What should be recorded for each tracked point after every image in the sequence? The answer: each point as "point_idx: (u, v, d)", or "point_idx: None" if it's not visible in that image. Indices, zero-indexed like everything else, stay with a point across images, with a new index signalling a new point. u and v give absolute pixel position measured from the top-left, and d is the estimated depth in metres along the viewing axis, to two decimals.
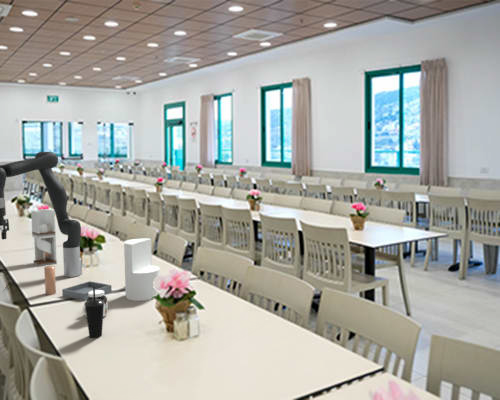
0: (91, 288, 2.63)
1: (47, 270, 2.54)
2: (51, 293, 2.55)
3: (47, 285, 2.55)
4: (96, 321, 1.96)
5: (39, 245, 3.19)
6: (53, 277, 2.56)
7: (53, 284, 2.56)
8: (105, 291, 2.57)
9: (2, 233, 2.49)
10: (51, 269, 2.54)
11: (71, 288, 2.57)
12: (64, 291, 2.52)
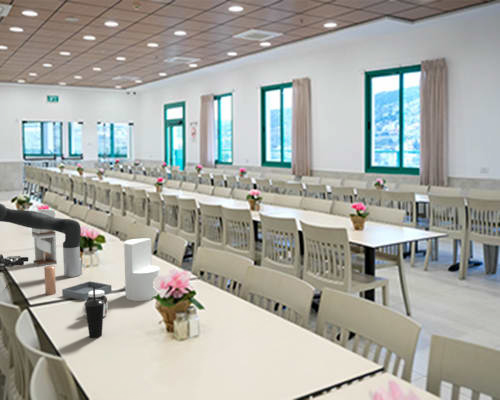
0: (91, 288, 2.63)
1: (47, 270, 2.54)
2: (51, 293, 2.55)
3: (47, 285, 2.55)
4: (96, 321, 1.96)
5: (39, 245, 3.19)
6: (53, 277, 2.56)
7: (53, 284, 2.56)
8: (105, 291, 2.57)
9: None
10: (51, 269, 2.54)
11: (71, 288, 2.57)
12: (64, 291, 2.52)
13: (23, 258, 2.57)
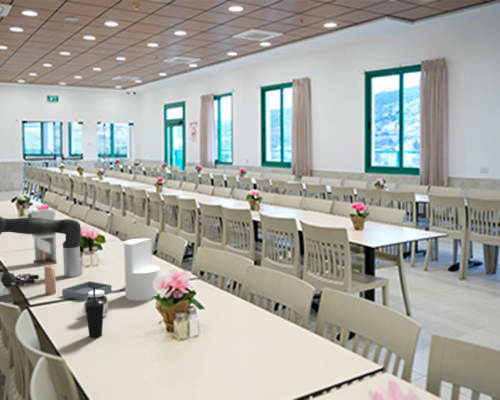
0: (91, 288, 2.63)
1: (47, 270, 2.54)
2: (51, 293, 2.55)
3: (47, 285, 2.55)
4: (96, 321, 1.96)
5: (39, 245, 3.19)
6: (53, 277, 2.56)
7: (53, 284, 2.56)
8: (105, 291, 2.57)
9: (27, 283, 2.51)
10: (51, 269, 2.54)
11: (71, 288, 2.57)
12: (64, 291, 2.52)
13: (33, 276, 2.59)
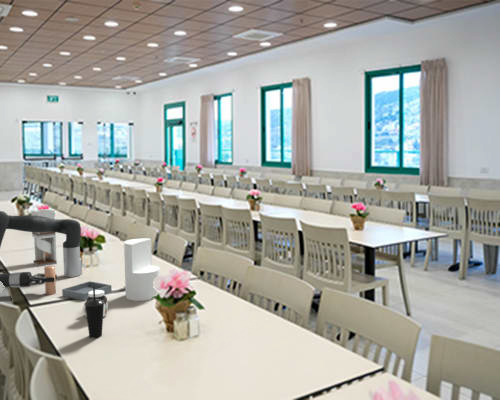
0: (91, 288, 2.63)
1: (47, 270, 2.54)
2: (51, 293, 2.55)
3: (47, 285, 2.55)
4: (96, 321, 1.96)
5: (39, 245, 3.19)
6: None
7: (53, 284, 2.56)
8: (105, 291, 2.57)
9: (47, 281, 2.54)
10: (51, 269, 2.54)
11: (71, 288, 2.57)
12: (64, 291, 2.52)
13: None
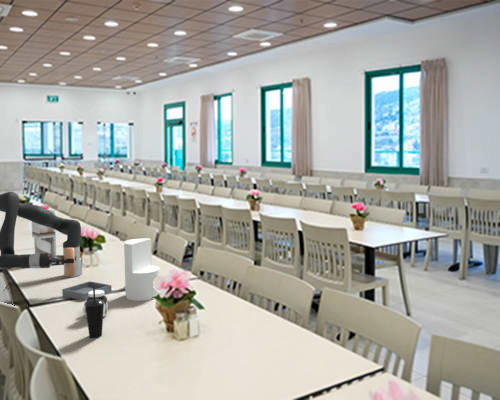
0: (91, 288, 2.63)
1: (67, 251, 2.52)
2: (71, 274, 2.54)
3: (67, 266, 2.53)
4: (96, 321, 1.96)
5: (39, 245, 3.19)
6: (73, 258, 2.54)
7: (73, 265, 2.54)
8: (105, 291, 2.57)
9: (67, 262, 2.52)
10: (71, 250, 2.53)
11: (71, 288, 2.57)
12: (64, 291, 2.52)
13: None
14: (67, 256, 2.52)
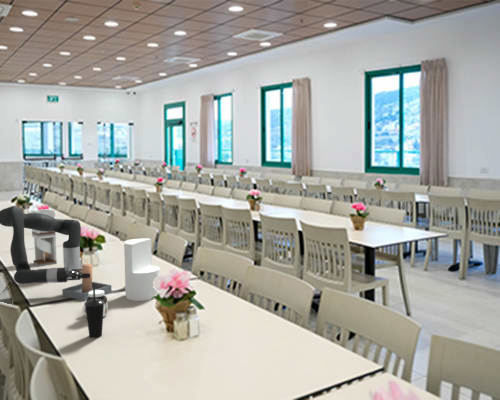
0: None
1: (85, 268, 2.53)
2: (88, 291, 2.54)
3: (84, 283, 2.54)
4: (96, 321, 1.96)
5: (39, 245, 3.19)
6: (90, 275, 2.55)
7: (90, 282, 2.55)
8: (105, 291, 2.57)
9: (83, 277, 2.52)
10: (89, 267, 2.54)
11: (71, 288, 2.57)
12: (64, 291, 2.52)
13: None
14: (85, 273, 2.53)
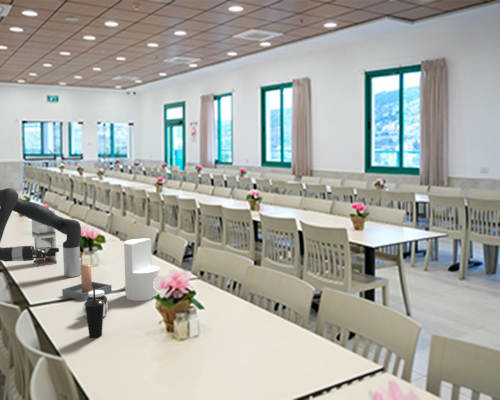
0: None
1: (84, 268, 2.53)
2: (88, 291, 2.54)
3: (84, 283, 2.54)
4: (96, 321, 1.96)
5: (39, 245, 3.19)
6: (89, 275, 2.55)
7: (90, 282, 2.55)
8: (105, 291, 2.57)
9: (48, 255, 2.49)
10: (88, 267, 2.54)
11: (71, 288, 2.57)
12: (64, 291, 2.52)
13: (54, 249, 2.57)
14: (84, 273, 2.53)
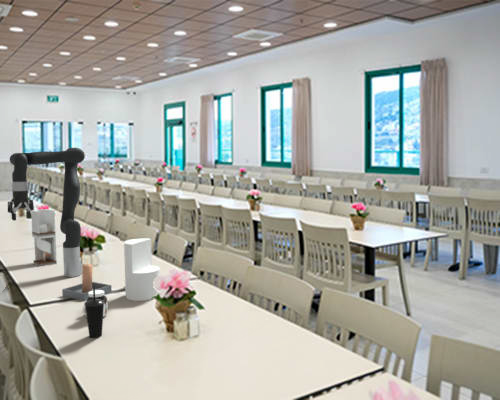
0: None
1: (86, 268, 2.53)
2: (88, 291, 2.55)
3: (85, 283, 2.54)
4: (96, 321, 1.96)
5: (39, 245, 3.19)
6: (91, 275, 2.55)
7: (90, 282, 2.55)
8: (105, 291, 2.57)
9: None
10: (89, 267, 2.53)
11: (71, 288, 2.57)
12: (64, 291, 2.52)
13: (28, 214, 2.75)
14: (86, 273, 2.53)
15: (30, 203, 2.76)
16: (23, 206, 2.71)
